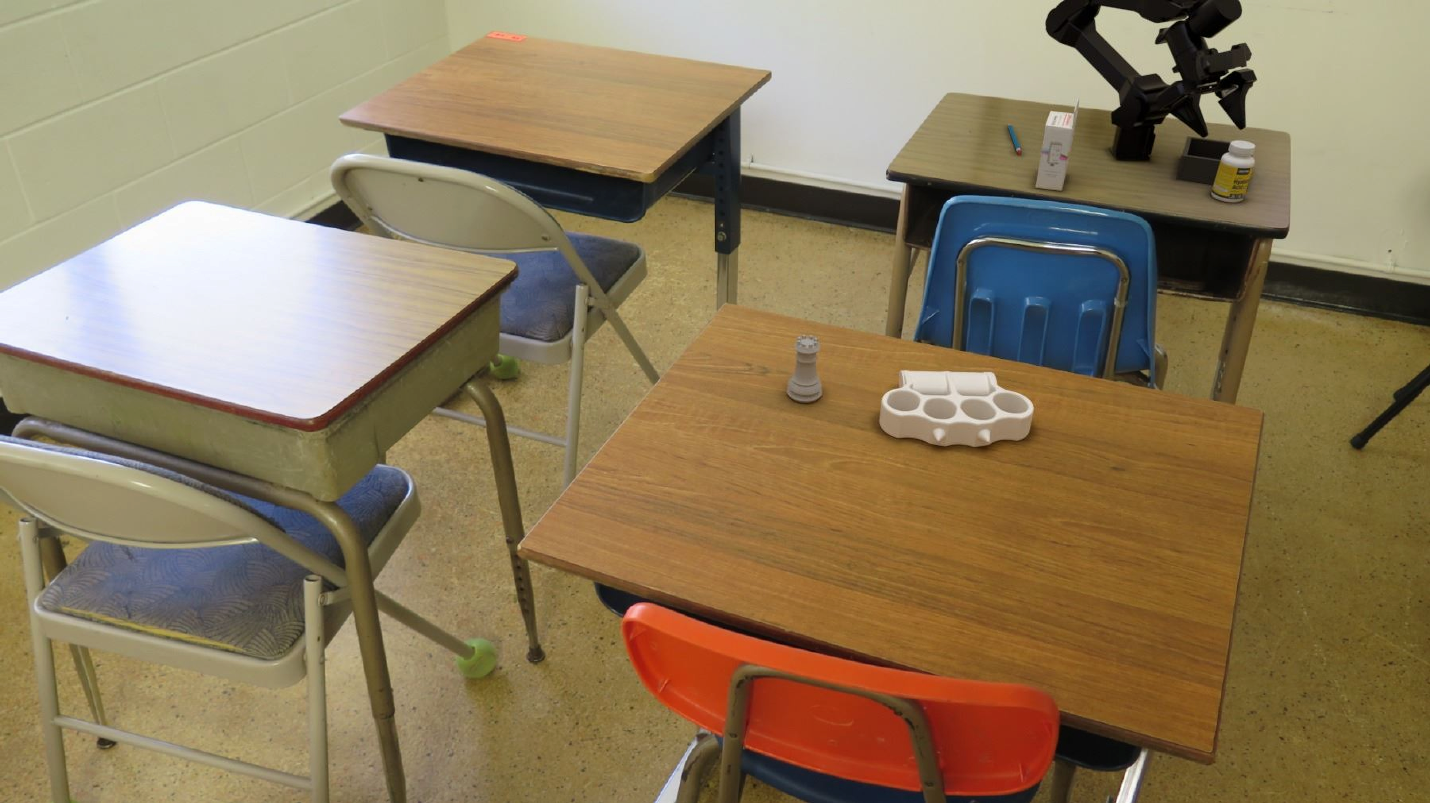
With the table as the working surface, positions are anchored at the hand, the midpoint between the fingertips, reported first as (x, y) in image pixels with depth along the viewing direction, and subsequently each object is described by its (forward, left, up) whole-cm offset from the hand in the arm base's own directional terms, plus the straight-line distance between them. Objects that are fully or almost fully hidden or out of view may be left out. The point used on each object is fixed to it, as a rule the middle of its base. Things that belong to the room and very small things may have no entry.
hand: (1224, 132), depth 184 cm
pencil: (-31, +24, -11) cm, 40 cm away
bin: (+3, +8, -11) cm, 14 cm away
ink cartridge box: (-28, +2, -11) cm, 30 cm away
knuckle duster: (-55, -77, -11) cm, 96 cm away
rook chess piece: (-73, -73, -11) cm, 104 cm away
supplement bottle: (+2, -3, -11) cm, 11 cm away
